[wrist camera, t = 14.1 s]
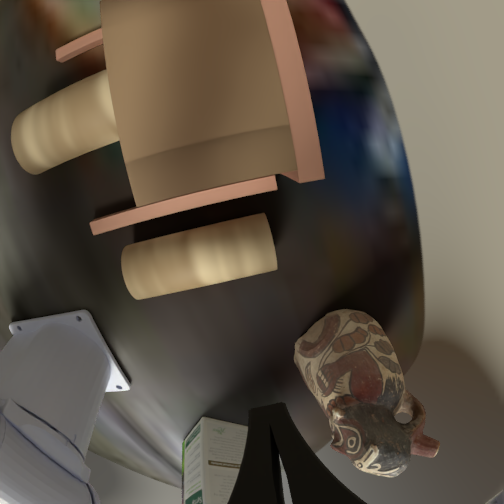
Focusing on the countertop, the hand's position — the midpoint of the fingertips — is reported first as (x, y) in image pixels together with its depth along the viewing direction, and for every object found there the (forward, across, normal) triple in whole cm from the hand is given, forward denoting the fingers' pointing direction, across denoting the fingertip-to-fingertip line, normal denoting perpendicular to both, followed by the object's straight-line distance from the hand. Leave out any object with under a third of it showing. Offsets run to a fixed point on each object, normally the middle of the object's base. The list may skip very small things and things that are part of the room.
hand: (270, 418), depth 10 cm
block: (+9, 0, -13) cm, 16 cm away
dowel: (+10, +4, -13) cm, 17 cm away
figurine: (+10, -6, +6) cm, 13 cm away
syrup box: (+10, +6, +15) cm, 19 cm away
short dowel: (+10, +2, -4) cm, 11 cm away
